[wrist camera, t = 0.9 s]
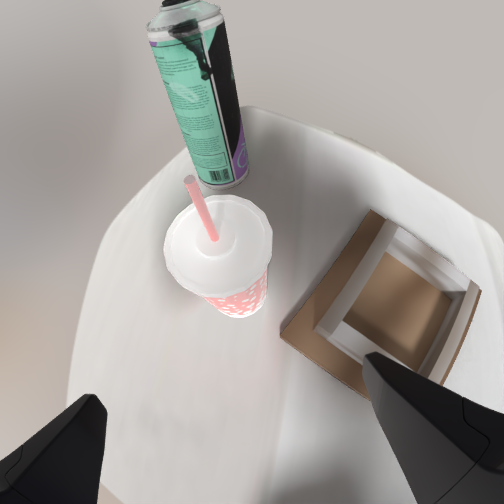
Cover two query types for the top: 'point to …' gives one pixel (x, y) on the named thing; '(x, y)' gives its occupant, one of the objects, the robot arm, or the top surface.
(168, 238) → the beverage cup
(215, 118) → the spray can
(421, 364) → the cup holder board
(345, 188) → the top surface
